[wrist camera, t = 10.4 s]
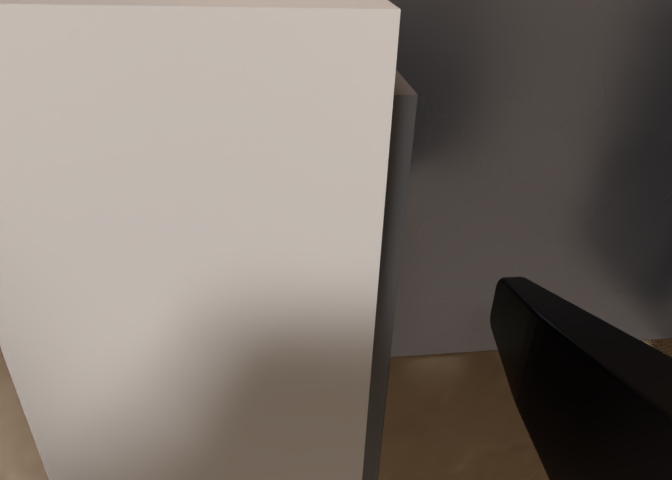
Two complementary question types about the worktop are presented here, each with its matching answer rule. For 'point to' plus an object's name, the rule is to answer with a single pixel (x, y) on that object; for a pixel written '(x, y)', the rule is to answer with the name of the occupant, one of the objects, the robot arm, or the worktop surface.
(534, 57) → the rail
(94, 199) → the white rectangular prism
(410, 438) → the worktop surface
